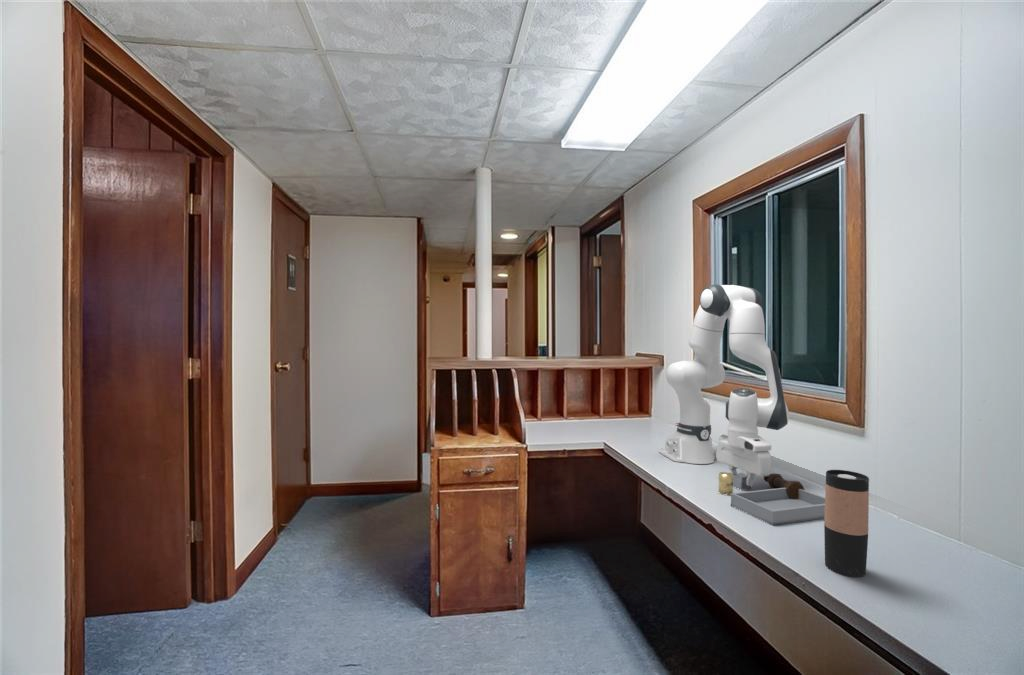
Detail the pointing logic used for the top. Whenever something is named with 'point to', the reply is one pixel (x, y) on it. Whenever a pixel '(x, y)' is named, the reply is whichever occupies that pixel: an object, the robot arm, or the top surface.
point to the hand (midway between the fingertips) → (741, 482)
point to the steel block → (740, 481)
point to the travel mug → (846, 522)
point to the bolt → (784, 485)
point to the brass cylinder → (725, 483)
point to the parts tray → (780, 505)
